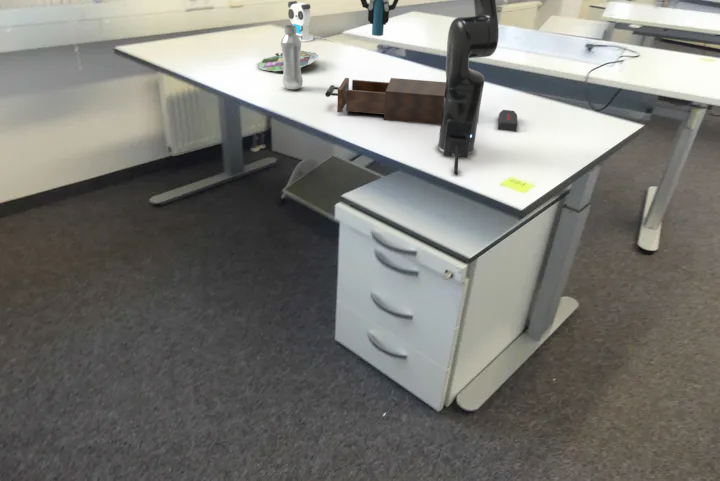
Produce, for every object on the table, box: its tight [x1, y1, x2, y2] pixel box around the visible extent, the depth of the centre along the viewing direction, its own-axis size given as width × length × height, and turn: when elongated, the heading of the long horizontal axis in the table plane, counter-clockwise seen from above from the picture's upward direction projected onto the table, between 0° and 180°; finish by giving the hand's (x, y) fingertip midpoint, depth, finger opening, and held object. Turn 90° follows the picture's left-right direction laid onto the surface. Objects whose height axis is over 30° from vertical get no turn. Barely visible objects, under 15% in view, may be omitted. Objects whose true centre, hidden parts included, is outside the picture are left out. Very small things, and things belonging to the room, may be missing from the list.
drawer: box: [325, 77, 389, 115], centre depth 165 cm, size 22×12×7 cm, turn 81°
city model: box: [258, 50, 319, 72], centre depth 205 cm, size 25×23×6 cm
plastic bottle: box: [280, 24, 304, 90], centre depth 178 cm, size 6×7×20 cm
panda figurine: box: [287, 0, 314, 43], centre depth 240 cm, size 12×11×15 cm
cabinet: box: [383, 77, 446, 126], centre depth 163 cm, size 19×14×9 cm
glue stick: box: [371, 0, 385, 37], centre depth 161 cm, size 4×4×12 cm
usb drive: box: [497, 109, 518, 132], centre depth 161 cm, size 5×12×3 cm, turn 167°
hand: (378, 23), depth 162 cm, fingers closed on glue stick, 3 cm apart
